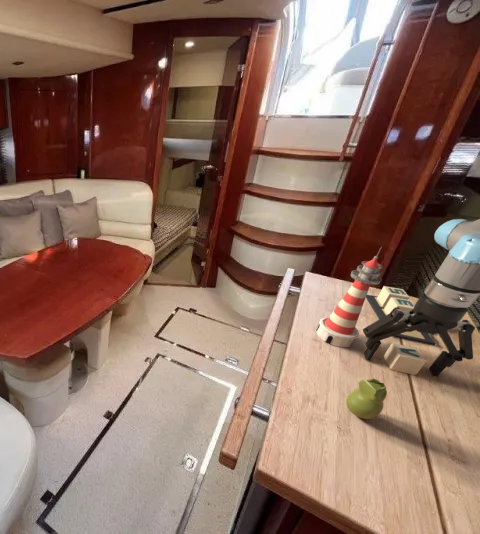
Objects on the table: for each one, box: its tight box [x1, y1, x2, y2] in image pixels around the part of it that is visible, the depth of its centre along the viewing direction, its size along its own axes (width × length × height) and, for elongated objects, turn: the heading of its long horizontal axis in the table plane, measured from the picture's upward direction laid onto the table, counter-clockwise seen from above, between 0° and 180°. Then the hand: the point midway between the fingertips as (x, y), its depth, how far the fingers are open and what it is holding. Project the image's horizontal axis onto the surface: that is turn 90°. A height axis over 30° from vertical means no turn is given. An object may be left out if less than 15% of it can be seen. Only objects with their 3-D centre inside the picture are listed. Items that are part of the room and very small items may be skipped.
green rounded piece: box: [345, 378, 388, 420], centre depth 67 cm, size 6×5×10 cm
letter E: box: [384, 297, 416, 321], centre depth 95 cm, size 5×5×5 cm
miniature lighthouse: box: [316, 246, 384, 348], centre depth 82 cm, size 9×9×30 cm
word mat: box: [365, 294, 437, 346], centre depth 96 cm, size 10×22×1 cm, turn 156°
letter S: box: [377, 285, 410, 307], centre depth 100 cm, size 5×5×5 cm
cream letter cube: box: [382, 342, 427, 376], centre depth 79 cm, size 5×5×5 cm
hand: (398, 365), depth 80 cm, fingers open, 13 cm apart
